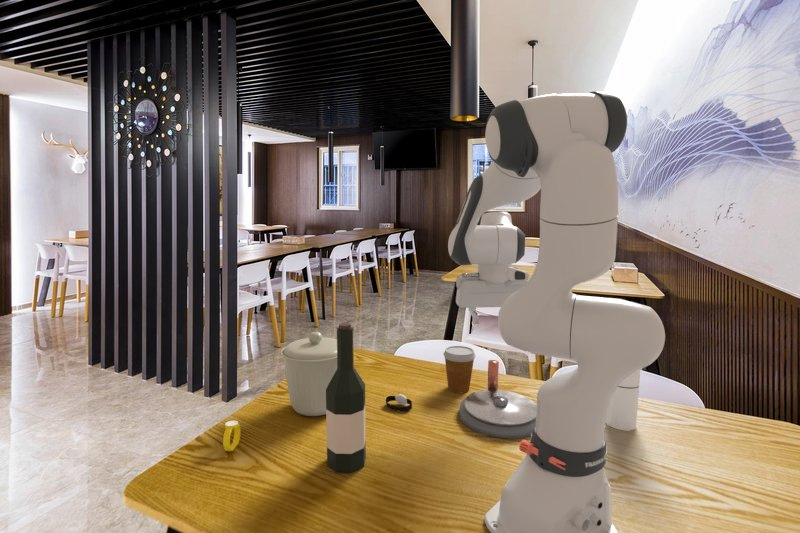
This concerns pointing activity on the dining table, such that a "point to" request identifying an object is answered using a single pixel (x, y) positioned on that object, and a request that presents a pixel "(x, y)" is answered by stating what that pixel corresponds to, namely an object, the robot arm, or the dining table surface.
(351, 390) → the wine bottle
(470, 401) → the handwheel
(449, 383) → the disposable coffee cup
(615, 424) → the cylindrical container
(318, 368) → the canister
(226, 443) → the watch
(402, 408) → the watch
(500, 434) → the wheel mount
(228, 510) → the dining table surface
